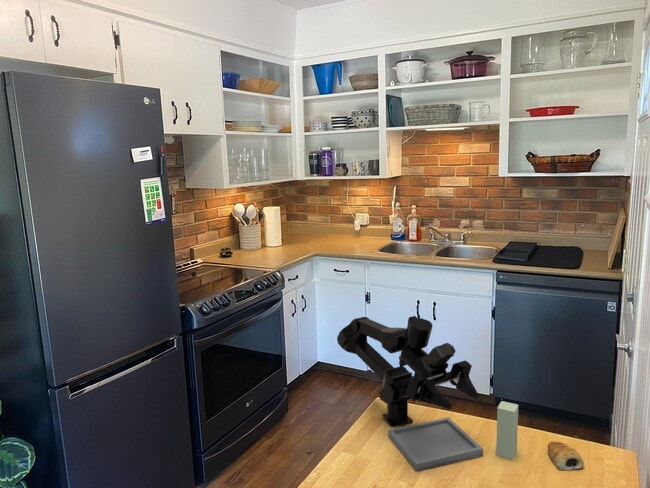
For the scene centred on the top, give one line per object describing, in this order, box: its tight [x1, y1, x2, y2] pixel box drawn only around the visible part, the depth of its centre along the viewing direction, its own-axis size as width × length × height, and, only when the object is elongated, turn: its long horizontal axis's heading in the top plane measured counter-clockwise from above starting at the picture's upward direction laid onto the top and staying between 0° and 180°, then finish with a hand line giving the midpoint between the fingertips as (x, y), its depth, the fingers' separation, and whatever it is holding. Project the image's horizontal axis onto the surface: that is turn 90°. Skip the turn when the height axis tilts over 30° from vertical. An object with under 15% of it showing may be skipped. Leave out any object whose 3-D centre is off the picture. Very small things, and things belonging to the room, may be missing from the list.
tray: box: [387, 416, 484, 473], centre depth 127 cm, size 16×18×2 cm
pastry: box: [546, 441, 585, 471], centre depth 120 cm, size 9×7×4 cm
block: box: [495, 400, 519, 461], centre depth 122 cm, size 4×4×12 cm
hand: (464, 402), depth 117 cm, fingers open, 9 cm apart
